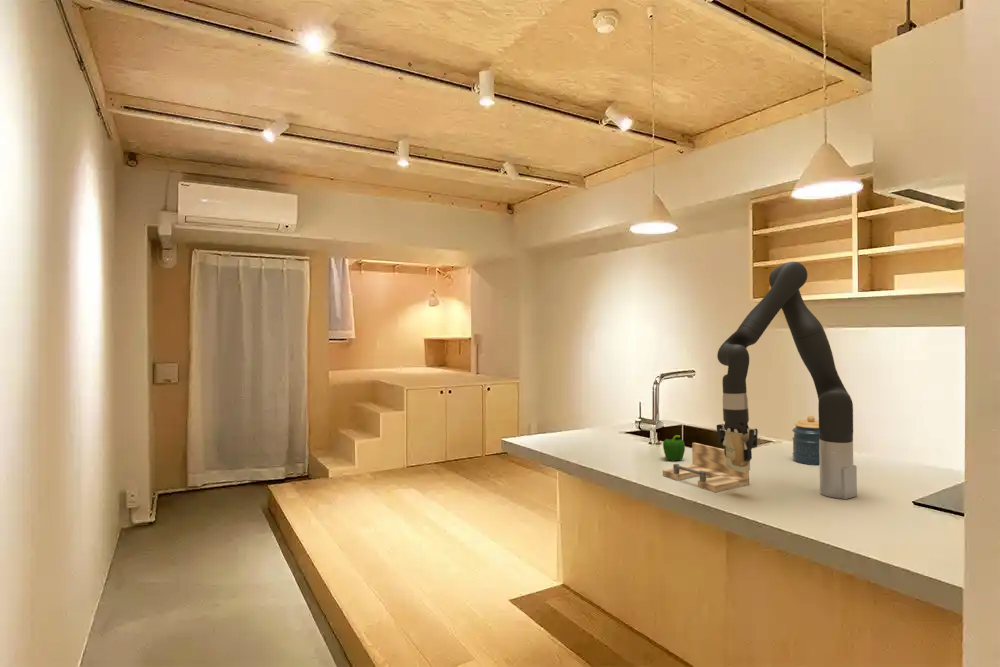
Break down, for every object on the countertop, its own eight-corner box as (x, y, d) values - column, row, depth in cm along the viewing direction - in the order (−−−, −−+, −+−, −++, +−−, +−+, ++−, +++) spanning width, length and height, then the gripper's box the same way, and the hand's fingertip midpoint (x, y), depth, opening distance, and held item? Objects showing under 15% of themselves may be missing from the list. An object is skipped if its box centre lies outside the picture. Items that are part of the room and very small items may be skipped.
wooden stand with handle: (749, 484, 196) (748, 454, 196) (715, 492, 189) (714, 461, 188) (695, 469, 217) (694, 442, 217) (662, 475, 210) (662, 448, 210)
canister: (797, 464, 219) (796, 418, 219) (789, 456, 232) (788, 412, 231) (835, 466, 216) (835, 418, 216) (825, 457, 229) (824, 413, 228)
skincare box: (725, 468, 187) (723, 430, 187) (736, 466, 189) (734, 428, 189) (740, 472, 181) (738, 433, 181) (751, 470, 183) (749, 431, 183)
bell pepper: (658, 460, 233) (658, 435, 233) (670, 456, 238) (669, 432, 238) (677, 463, 227) (676, 437, 226) (688, 459, 232) (688, 434, 232)
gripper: (762, 407, 180) (765, 461, 181) (724, 403, 193) (727, 453, 193) (746, 410, 177) (749, 465, 177) (709, 406, 189) (711, 457, 189)
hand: (737, 458), depth 185 cm, fingers closed on skincare box, 6 cm apart
